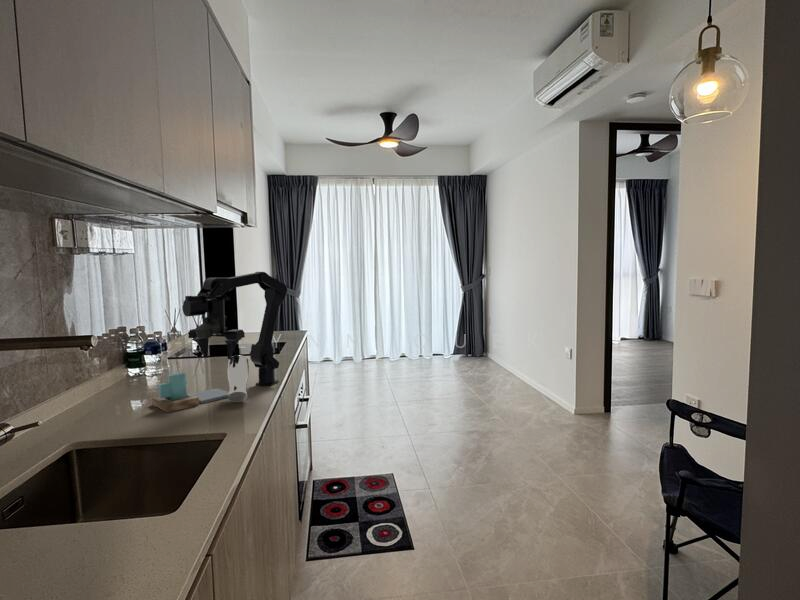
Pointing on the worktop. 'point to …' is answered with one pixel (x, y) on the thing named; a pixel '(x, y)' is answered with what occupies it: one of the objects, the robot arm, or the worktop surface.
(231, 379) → the beer glass
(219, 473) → the worktop surface
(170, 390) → the teal gourd with tab
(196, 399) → the bracket
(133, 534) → the worktop surface
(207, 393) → the coaster
